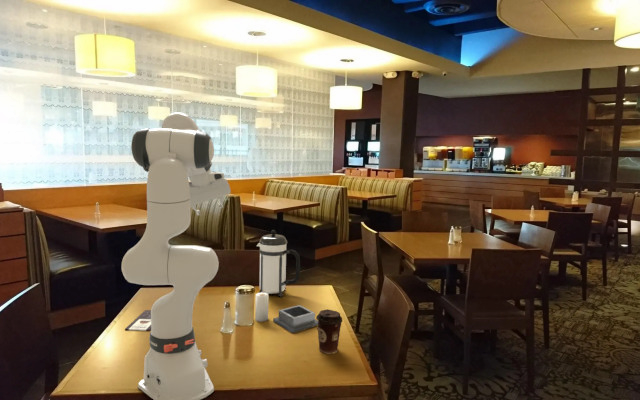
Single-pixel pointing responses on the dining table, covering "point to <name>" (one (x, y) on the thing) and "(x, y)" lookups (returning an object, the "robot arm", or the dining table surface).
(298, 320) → the roll stand
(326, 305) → the dining table surface
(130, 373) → the dining table surface
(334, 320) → the coffee cup
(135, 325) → the chocolate bar
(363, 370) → the dining table surface
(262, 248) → the coffee press
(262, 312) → the paper roll
